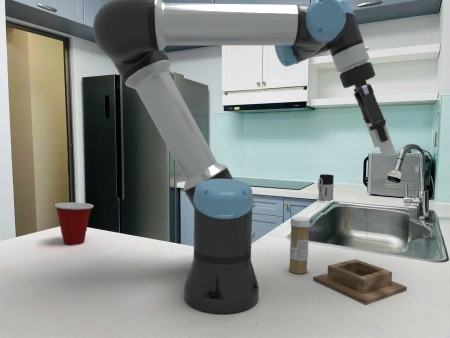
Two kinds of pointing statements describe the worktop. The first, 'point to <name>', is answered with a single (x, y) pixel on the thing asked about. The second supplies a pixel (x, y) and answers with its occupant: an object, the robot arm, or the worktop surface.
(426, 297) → the worktop surface
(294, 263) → the sprinkles bottle
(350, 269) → the walnut socket block
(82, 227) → the plastic cup
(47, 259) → the worktop surface
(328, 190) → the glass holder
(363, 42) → the robot arm
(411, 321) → the worktop surface
